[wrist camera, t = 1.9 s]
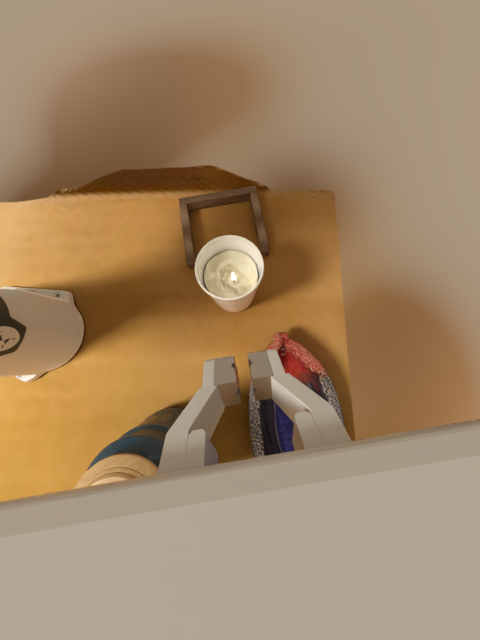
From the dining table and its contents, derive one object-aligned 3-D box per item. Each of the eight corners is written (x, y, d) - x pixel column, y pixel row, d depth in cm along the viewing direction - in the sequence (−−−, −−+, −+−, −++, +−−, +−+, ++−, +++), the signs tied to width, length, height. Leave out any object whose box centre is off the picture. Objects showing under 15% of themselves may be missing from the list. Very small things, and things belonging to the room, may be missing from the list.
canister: (221, 426, 32) (194, 514, 15) (187, 498, 31) (112, 694, 13) (161, 392, 34) (71, 439, 16) (125, 460, 32) (-19, 594, 14)
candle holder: (267, 289, 36) (278, 260, 25) (238, 326, 35) (234, 314, 24) (230, 262, 38) (224, 222, 26) (201, 297, 37) (180, 271, 25)
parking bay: (268, 255, 38) (269, 250, 36) (189, 268, 38) (186, 264, 36) (255, 193, 40) (255, 185, 38) (182, 206, 40) (178, 198, 38)
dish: (255, 515, 30) (257, 548, 25) (243, 336, 35) (243, 334, 30) (346, 511, 30) (366, 543, 25) (321, 331, 35) (334, 328, 30)
